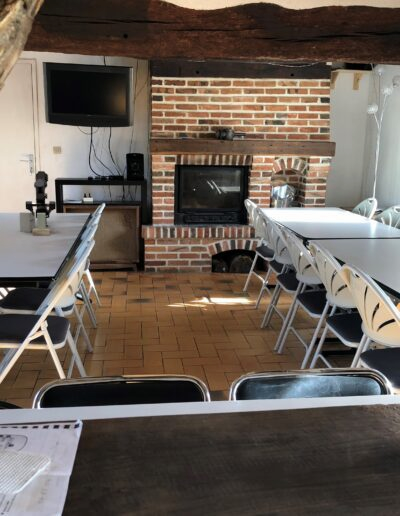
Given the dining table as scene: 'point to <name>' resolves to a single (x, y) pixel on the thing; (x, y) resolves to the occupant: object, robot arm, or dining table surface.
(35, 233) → the birch plinth
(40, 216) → the sage block
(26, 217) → the supplement box
